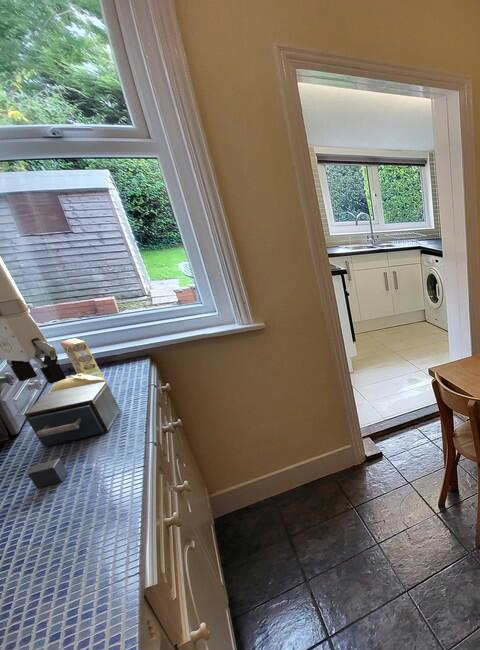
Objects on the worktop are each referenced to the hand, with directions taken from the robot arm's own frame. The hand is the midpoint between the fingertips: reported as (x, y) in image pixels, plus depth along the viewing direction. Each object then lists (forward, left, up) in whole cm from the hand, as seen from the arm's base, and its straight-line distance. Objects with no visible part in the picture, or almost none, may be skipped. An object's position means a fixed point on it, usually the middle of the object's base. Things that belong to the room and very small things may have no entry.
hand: (43, 380), depth 97 cm
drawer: (-1, +6, -17) cm, 18 cm away
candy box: (-8, +53, -18) cm, 57 cm away
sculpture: (-4, +27, -18) cm, 33 cm away
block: (0, -18, -18) cm, 25 cm away
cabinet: (-1, +11, -18) cm, 21 cm away
